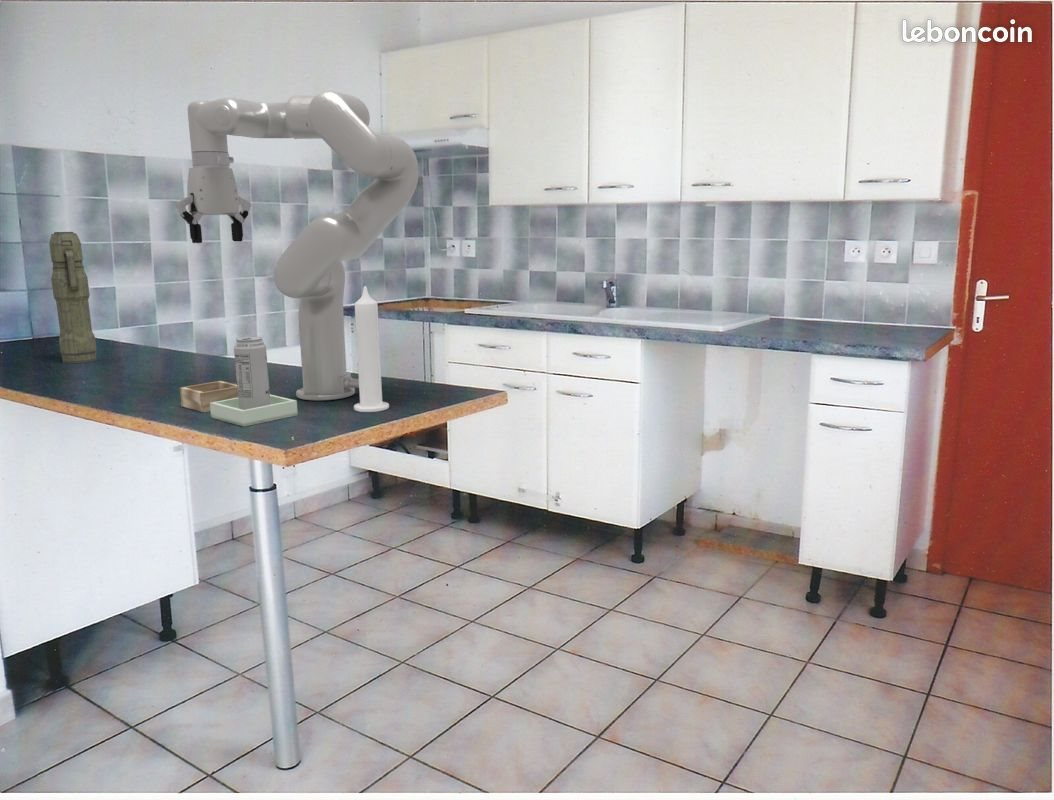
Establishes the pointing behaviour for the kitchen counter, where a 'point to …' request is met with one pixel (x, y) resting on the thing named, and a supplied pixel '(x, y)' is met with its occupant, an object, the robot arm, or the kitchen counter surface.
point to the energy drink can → (251, 373)
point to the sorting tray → (253, 411)
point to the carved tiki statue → (72, 299)
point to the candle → (368, 355)
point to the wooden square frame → (206, 394)
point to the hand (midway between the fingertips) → (217, 242)
